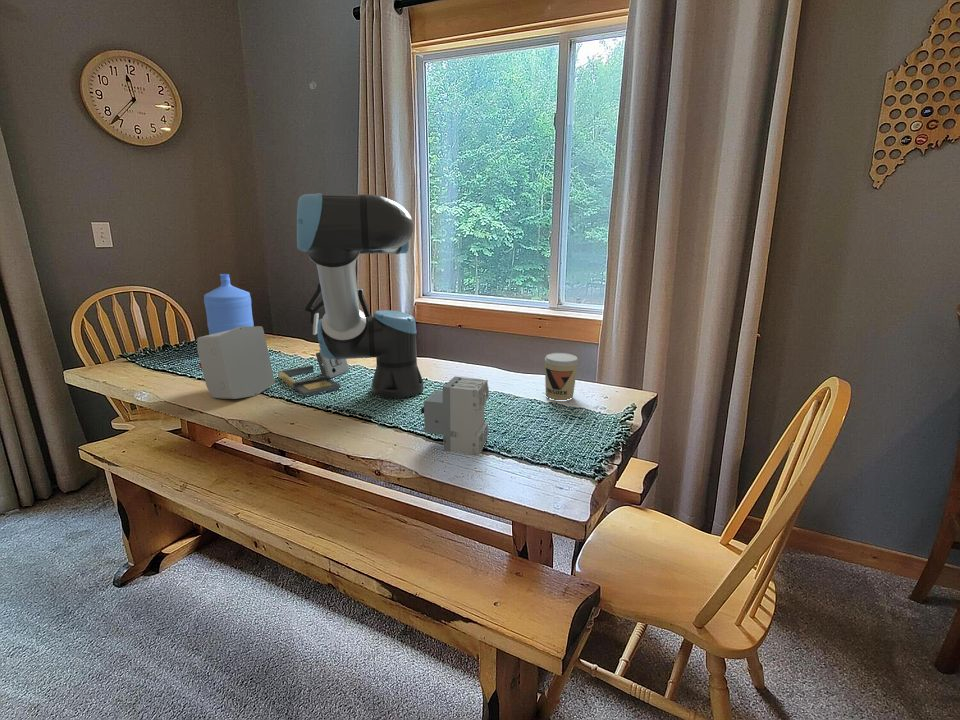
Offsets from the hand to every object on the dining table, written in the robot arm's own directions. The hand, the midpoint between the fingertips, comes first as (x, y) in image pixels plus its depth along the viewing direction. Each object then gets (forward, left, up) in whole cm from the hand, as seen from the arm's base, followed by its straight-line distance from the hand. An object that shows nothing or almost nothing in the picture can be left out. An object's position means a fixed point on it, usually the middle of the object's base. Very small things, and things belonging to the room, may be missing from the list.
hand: (336, 337), depth 161 cm
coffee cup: (-59, -41, -12) cm, 73 cm away
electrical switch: (0, +2, -12) cm, 12 cm away
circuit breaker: (-65, +1, -12) cm, 67 cm away
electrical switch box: (+1, +31, -12) cm, 33 cm away
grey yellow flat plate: (-4, +12, -12) cm, 17 cm away
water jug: (+52, +19, -12) cm, 56 cm away
